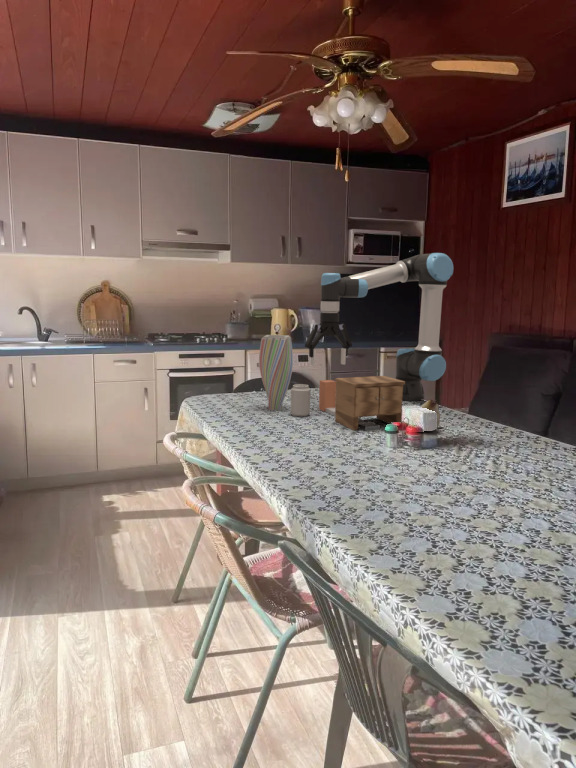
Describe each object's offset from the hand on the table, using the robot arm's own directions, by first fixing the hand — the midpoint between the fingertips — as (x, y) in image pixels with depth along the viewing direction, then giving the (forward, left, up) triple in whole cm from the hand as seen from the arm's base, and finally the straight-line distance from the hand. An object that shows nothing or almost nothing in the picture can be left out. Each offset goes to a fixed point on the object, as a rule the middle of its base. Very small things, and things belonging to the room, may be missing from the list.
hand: (328, 364), depth 238 cm
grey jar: (+14, +6, -19) cm, 24 cm away
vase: (+19, -8, -19) cm, 28 cm away
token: (0, +34, -19) cm, 39 cm away
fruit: (-18, +44, -19) cm, 51 cm away
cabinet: (-4, +27, -19) cm, 33 cm away
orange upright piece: (0, +12, -19) cm, 22 cm away
